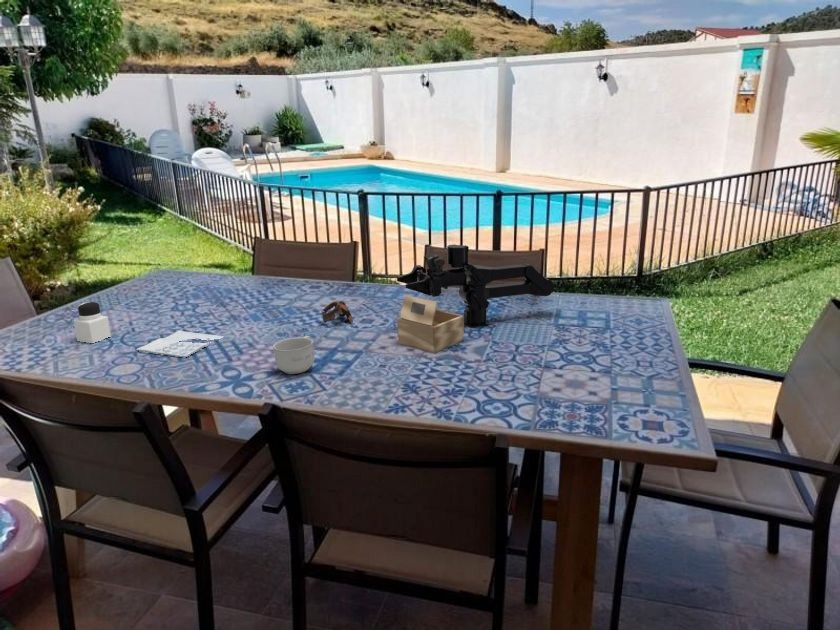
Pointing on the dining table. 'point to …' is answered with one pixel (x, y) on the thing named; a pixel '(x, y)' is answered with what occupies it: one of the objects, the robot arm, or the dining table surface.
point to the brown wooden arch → (336, 311)
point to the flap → (418, 310)
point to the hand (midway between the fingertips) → (401, 282)
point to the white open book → (178, 344)
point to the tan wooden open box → (432, 332)
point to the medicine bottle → (91, 323)
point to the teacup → (294, 354)
